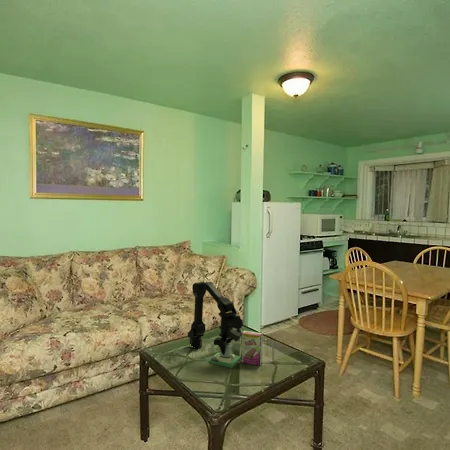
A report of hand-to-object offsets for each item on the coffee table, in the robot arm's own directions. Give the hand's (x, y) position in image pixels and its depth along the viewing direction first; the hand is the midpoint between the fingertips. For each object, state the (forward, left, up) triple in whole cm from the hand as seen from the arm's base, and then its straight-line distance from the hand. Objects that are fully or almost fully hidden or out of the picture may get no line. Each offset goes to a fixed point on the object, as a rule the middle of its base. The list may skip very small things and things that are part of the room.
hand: (225, 353), depth 173 cm
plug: (0, 0, -1) cm, 1 cm away
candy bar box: (+14, +5, -5) cm, 15 cm away
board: (0, +1, -5) cm, 5 cm away
